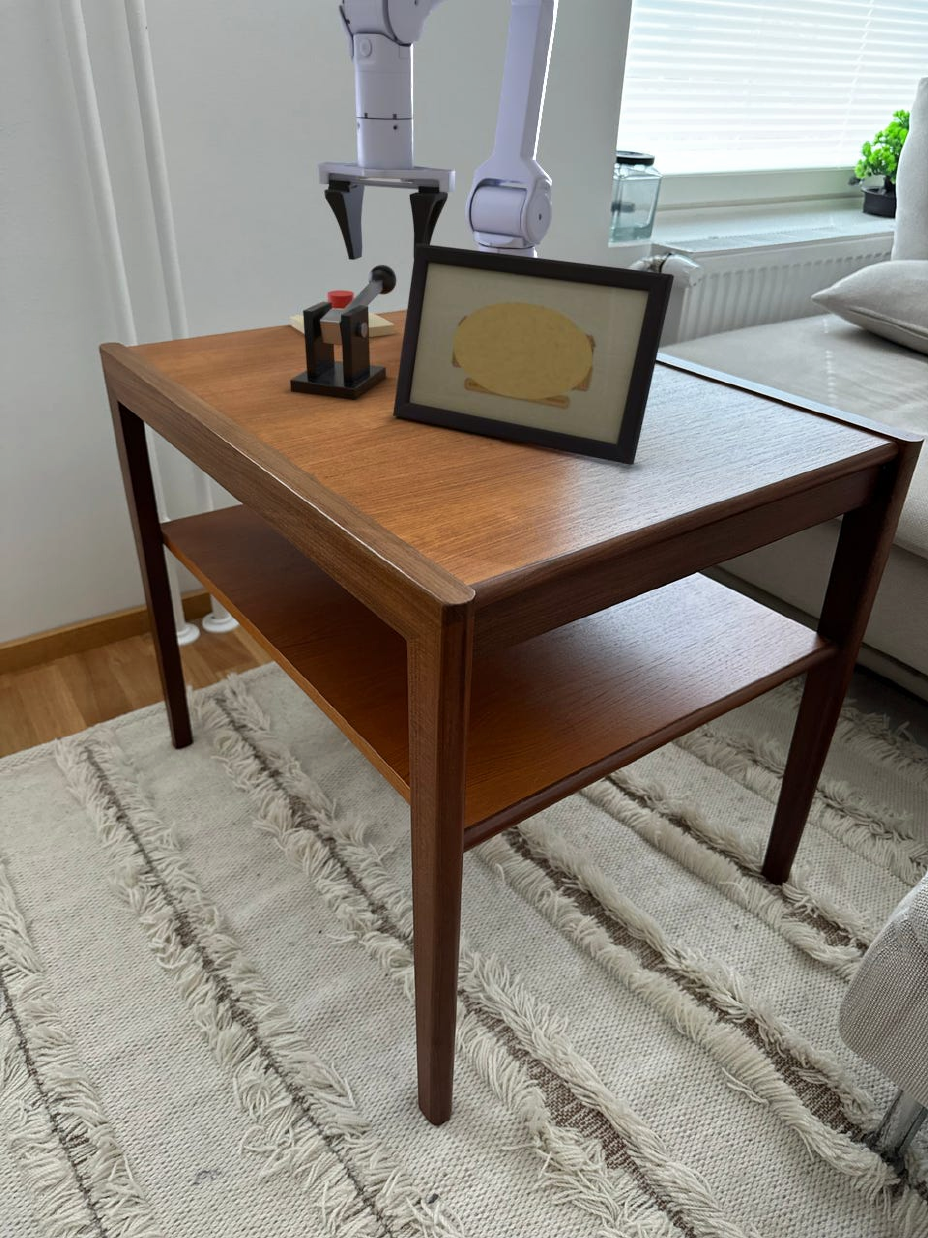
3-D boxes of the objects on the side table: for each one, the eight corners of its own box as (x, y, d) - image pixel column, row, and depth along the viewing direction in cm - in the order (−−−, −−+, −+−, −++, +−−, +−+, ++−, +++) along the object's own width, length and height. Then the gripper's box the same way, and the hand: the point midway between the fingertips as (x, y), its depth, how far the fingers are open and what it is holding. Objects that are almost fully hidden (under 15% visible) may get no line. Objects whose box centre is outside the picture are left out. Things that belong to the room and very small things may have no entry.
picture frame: (391, 417, 83) (399, 243, 76) (438, 402, 90) (449, 242, 84) (628, 467, 74) (660, 275, 68) (659, 446, 81) (690, 271, 75)
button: (348, 303, 110) (347, 289, 109) (358, 309, 108) (358, 294, 107) (324, 306, 109) (323, 291, 108) (334, 312, 107) (333, 296, 106)
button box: (364, 317, 115) (363, 293, 114) (395, 334, 109) (394, 308, 107) (290, 325, 111) (288, 300, 109) (318, 343, 104) (316, 317, 103)
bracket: (325, 370, 96) (321, 296, 92) (386, 378, 94) (384, 303, 90) (290, 391, 89) (284, 313, 85) (354, 400, 87) (351, 320, 83)
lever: (376, 286, 99) (373, 259, 97) (401, 289, 98) (399, 261, 96) (319, 345, 89) (314, 316, 87) (346, 348, 88) (343, 319, 86)
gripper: (301, 116, 88) (310, 261, 95) (439, 122, 85) (438, 273, 92) (332, 113, 94) (338, 250, 101) (462, 119, 90) (459, 261, 98)
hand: (387, 261), depth 97 cm, fingers open, 7 cm apart
